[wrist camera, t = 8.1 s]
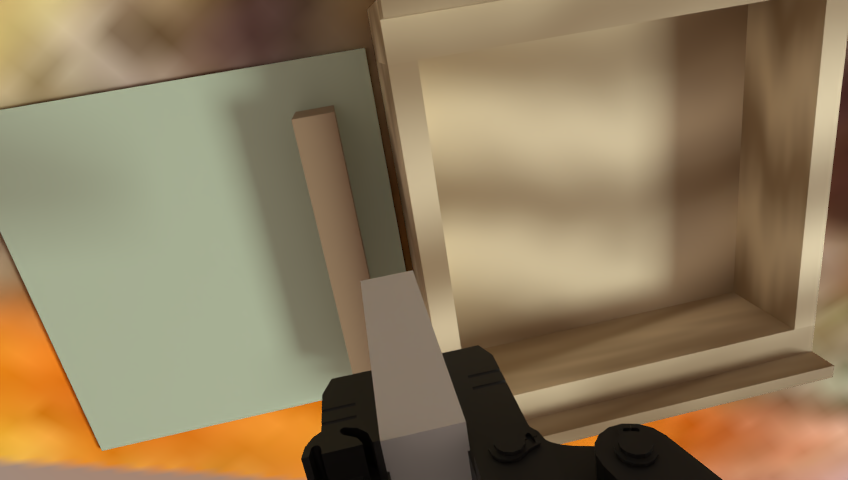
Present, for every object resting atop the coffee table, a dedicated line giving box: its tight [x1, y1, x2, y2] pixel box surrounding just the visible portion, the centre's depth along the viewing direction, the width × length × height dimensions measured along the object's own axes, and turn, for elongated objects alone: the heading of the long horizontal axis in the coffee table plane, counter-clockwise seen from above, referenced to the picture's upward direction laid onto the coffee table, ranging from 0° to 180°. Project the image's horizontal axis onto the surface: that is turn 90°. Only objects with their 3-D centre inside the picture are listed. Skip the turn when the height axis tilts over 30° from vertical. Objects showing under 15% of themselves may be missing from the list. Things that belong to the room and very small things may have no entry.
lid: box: [0, 48, 406, 451], centre depth 24 cm, size 16×16×3 cm
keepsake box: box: [367, 0, 848, 444], centre depth 23 cm, size 18×17×6 cm
